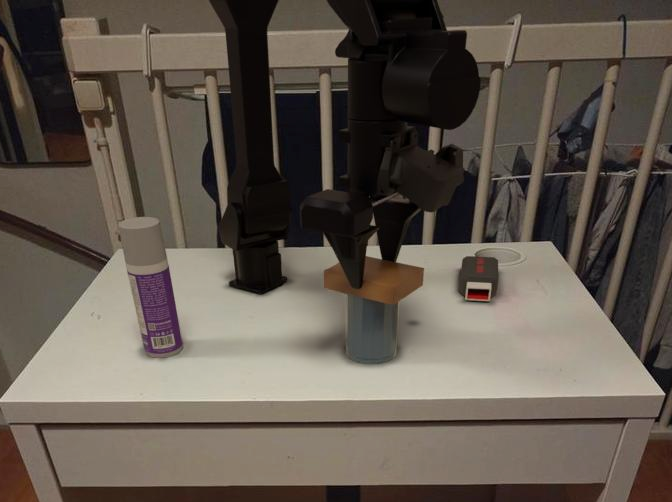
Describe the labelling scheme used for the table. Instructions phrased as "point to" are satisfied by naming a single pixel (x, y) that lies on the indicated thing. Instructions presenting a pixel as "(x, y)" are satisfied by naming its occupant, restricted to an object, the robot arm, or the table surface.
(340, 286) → the wooden block
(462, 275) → the usb drive
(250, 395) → the table surface
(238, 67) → the robot arm
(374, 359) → the cup
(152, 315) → the container
